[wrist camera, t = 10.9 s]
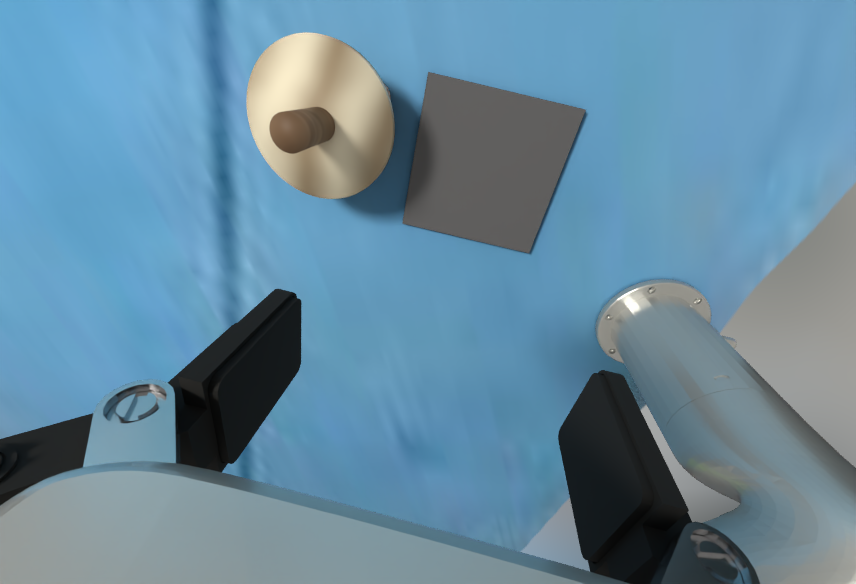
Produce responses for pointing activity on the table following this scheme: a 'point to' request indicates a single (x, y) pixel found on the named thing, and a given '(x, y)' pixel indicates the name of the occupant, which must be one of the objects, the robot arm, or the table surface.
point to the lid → (320, 115)
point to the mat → (487, 161)
